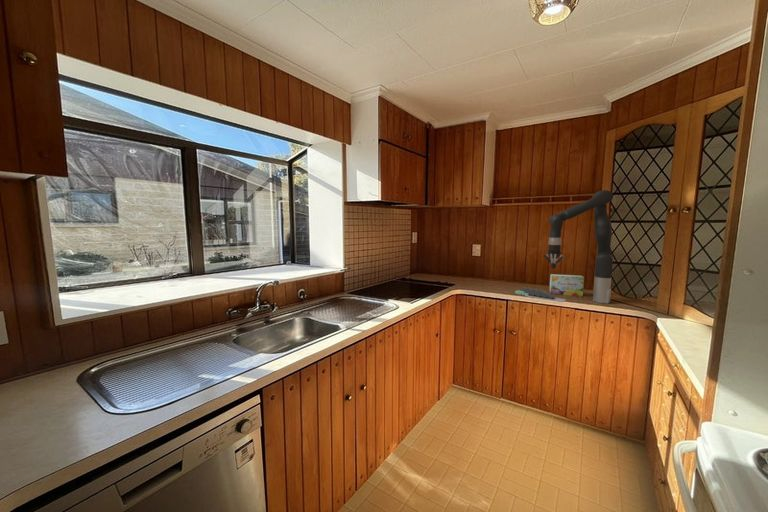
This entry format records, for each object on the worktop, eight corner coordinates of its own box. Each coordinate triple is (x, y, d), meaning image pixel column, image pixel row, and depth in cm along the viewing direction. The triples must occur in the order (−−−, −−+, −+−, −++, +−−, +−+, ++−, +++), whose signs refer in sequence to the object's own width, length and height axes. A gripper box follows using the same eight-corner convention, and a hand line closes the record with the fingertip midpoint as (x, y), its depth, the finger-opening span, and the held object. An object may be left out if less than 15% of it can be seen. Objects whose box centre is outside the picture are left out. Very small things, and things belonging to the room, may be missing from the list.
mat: (566, 299, 213) (566, 299, 213) (562, 302, 206) (562, 302, 206) (528, 293, 232) (528, 293, 232) (523, 296, 225) (523, 295, 225)
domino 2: (536, 293, 225) (524, 286, 231) (534, 294, 221) (521, 287, 227) (535, 295, 226) (523, 288, 232) (533, 296, 222) (520, 289, 228)
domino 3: (542, 294, 222) (530, 287, 228) (540, 295, 219) (527, 288, 225) (541, 296, 223) (529, 288, 229) (539, 297, 219) (526, 290, 225)
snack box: (550, 294, 228) (551, 275, 226) (549, 293, 234) (550, 273, 232) (582, 296, 222) (584, 276, 220) (580, 294, 227) (581, 275, 226)
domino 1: (531, 292, 228) (517, 290, 235) (528, 293, 224) (514, 291, 232) (530, 294, 228) (517, 292, 235) (528, 295, 225) (514, 293, 232)
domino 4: (548, 295, 219) (535, 288, 225) (546, 296, 216) (533, 289, 222) (547, 297, 220) (534, 289, 226) (545, 298, 216) (532, 290, 222)
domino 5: (554, 296, 216) (541, 288, 222) (552, 297, 213) (539, 290, 219) (553, 298, 217) (540, 290, 223) (551, 299, 213) (537, 291, 219)
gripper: (567, 244, 209) (565, 268, 211) (546, 243, 218) (545, 267, 220) (563, 244, 203) (562, 270, 205) (542, 243, 213) (541, 268, 215)
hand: (553, 268), depth 213 cm, fingers closed
